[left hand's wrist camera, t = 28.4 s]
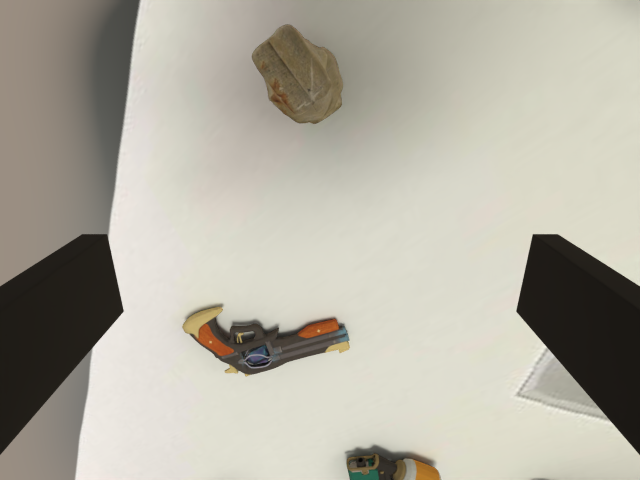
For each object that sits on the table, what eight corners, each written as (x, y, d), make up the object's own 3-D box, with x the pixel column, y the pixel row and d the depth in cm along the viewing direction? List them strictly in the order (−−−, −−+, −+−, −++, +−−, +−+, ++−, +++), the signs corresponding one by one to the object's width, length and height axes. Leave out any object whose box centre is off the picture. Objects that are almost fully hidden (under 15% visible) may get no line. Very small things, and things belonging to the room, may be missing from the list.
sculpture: (312, 29, 37) (308, -3, 23) (351, 98, 39) (368, 106, 25) (262, 66, 38) (229, 55, 24) (302, 130, 40) (293, 155, 26)
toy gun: (176, 323, 46) (205, 394, 49) (331, 280, 46) (353, 354, 48) (183, 313, 49) (210, 381, 51) (330, 272, 48) (350, 342, 51)
